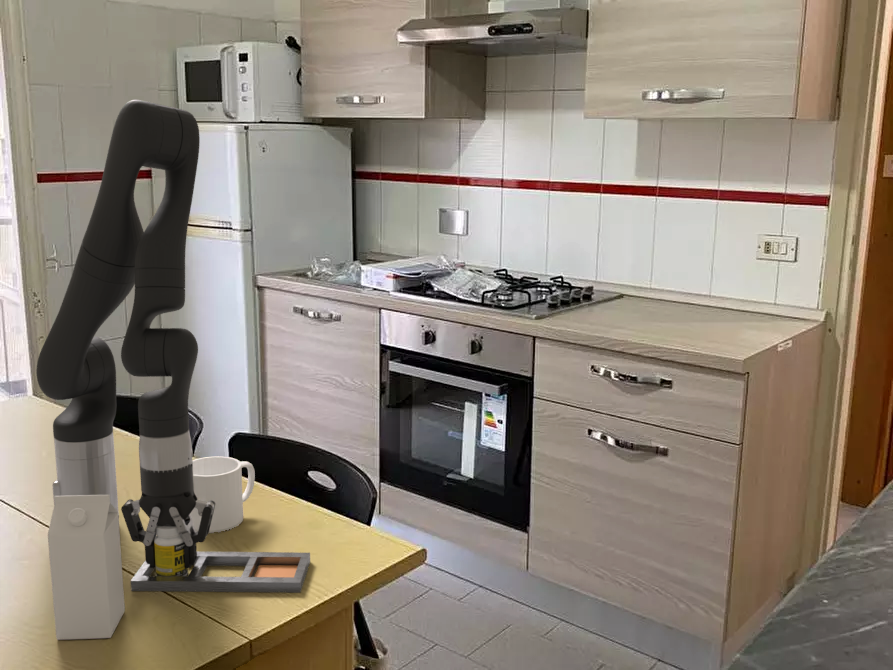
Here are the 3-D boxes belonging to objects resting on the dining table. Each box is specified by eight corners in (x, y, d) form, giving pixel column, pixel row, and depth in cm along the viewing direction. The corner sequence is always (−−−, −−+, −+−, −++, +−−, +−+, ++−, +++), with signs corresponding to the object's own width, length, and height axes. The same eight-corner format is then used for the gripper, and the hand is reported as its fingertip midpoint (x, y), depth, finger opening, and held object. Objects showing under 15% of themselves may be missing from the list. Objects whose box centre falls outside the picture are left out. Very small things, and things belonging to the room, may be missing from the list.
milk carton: (73, 613, 127) (63, 486, 123) (125, 612, 127) (116, 485, 123) (56, 641, 120) (44, 506, 116) (111, 639, 120) (101, 505, 116)
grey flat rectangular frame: (131, 590, 133) (130, 580, 133) (152, 560, 143) (152, 551, 143) (300, 592, 133) (300, 582, 133) (310, 562, 143) (310, 552, 143)
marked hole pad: (251, 585, 135) (251, 584, 135) (259, 567, 141) (259, 565, 141) (292, 586, 135) (292, 584, 135) (298, 567, 141) (298, 565, 141)
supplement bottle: (178, 584, 135) (176, 532, 134) (150, 581, 136) (147, 529, 135) (193, 570, 140) (191, 519, 138) (166, 566, 141) (163, 516, 139)
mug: (194, 538, 151) (191, 480, 149) (177, 517, 160) (174, 462, 158) (265, 522, 158) (263, 467, 156) (245, 503, 166) (243, 450, 164)
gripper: (108, 468, 131) (116, 577, 134) (207, 469, 131) (212, 577, 134) (126, 451, 138) (133, 554, 142) (220, 452, 138) (224, 555, 142)
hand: (171, 565), depth 138 cm, fingers closed on supplement bottle, 4 cm apart
